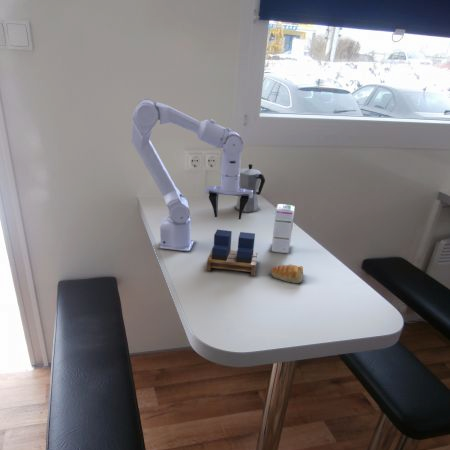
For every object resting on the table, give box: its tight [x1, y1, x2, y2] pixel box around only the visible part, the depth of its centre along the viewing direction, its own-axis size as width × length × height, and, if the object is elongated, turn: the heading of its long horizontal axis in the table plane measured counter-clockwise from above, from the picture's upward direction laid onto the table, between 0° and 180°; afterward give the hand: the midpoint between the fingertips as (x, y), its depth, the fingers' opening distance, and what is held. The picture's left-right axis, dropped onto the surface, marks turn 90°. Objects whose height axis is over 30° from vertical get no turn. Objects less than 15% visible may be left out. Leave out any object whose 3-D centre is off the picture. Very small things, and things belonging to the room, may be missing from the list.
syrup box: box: [271, 203, 296, 254], centre depth 132 cm, size 6×6×14 cm
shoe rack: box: [206, 249, 258, 277], centre depth 121 cm, size 14×9×4 cm, turn 82°
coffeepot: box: [235, 163, 266, 213], centre depth 164 cm, size 15×9×18 cm, turn 37°
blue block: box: [211, 229, 233, 261], centre depth 119 cm, size 7×4×6 cm, turn 170°
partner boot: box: [236, 231, 256, 263], centre depth 119 cm, size 7×4×6 cm, turn 172°
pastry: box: [270, 264, 304, 284], centre depth 118 cm, size 9×7×4 cm
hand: (227, 217), depth 130 cm, fingers open, 7 cm apart
